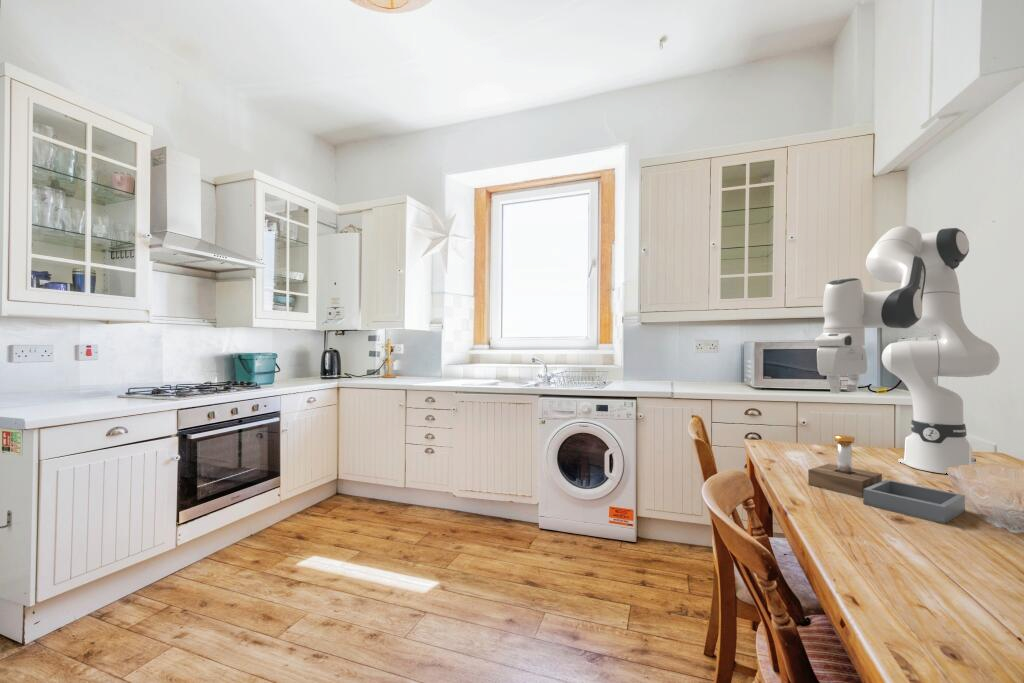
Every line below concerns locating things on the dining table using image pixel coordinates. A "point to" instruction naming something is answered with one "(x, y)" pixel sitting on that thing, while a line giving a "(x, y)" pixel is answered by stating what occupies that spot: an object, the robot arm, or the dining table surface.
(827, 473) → the block
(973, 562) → the dining table surface
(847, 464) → the clear capped tube
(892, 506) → the tray
